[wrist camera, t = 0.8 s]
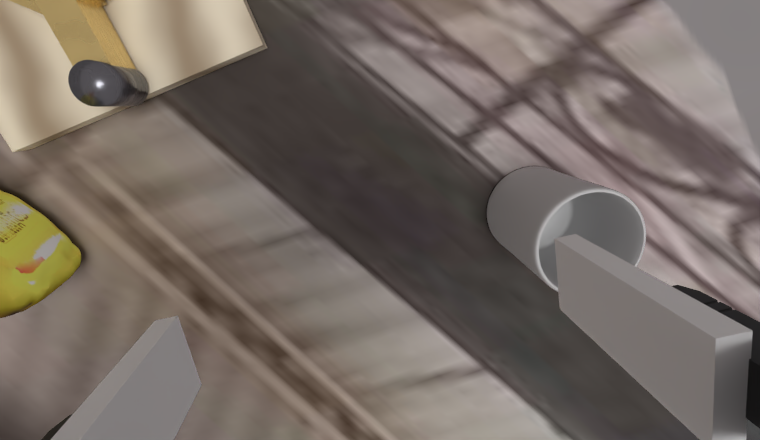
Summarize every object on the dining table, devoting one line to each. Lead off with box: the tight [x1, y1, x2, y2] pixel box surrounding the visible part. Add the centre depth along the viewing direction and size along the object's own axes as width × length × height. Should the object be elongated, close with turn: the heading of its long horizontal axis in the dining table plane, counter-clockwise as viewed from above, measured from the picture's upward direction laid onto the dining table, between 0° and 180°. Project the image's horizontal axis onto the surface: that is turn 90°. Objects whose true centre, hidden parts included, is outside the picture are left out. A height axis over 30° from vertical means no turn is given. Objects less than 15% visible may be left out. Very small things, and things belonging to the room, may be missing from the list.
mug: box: [487, 166, 646, 292], centre depth 36 cm, size 12×8×11 cm
